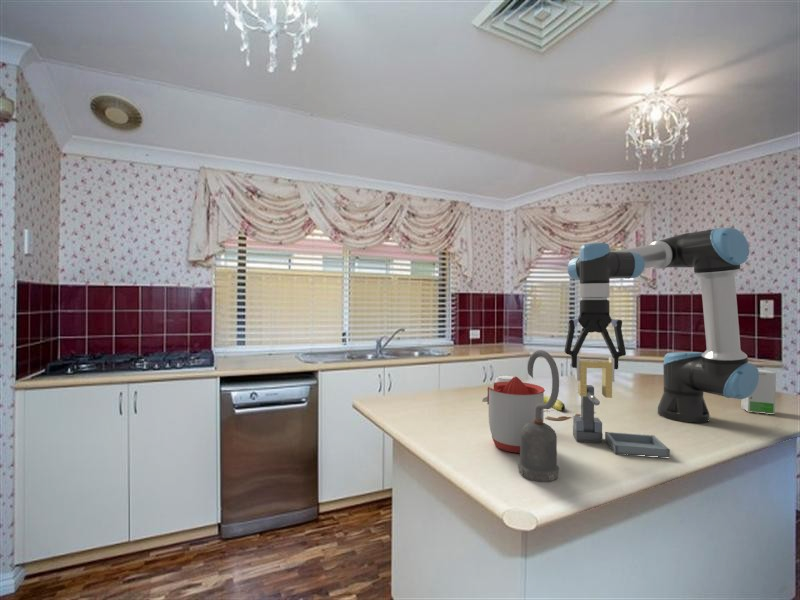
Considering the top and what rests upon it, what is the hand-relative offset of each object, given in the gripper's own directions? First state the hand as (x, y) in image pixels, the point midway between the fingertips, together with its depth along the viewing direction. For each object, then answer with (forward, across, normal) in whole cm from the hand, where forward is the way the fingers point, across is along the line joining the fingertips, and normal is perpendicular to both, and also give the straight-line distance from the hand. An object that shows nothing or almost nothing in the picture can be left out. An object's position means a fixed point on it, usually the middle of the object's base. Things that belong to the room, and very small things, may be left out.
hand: (594, 380), depth 112 cm
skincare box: (+21, -68, -55) cm, 89 cm away
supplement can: (+20, +23, -21) cm, 37 cm away
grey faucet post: (+19, 0, -4) cm, 20 cm away
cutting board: (+20, +8, -44) cm, 49 cm away
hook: (+19, +16, +21) cm, 33 cm away
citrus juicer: (+19, +22, +3) cm, 30 cm away
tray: (+20, -11, -3) cm, 23 cm away
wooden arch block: (+4, 0, 0) cm, 4 cm away
